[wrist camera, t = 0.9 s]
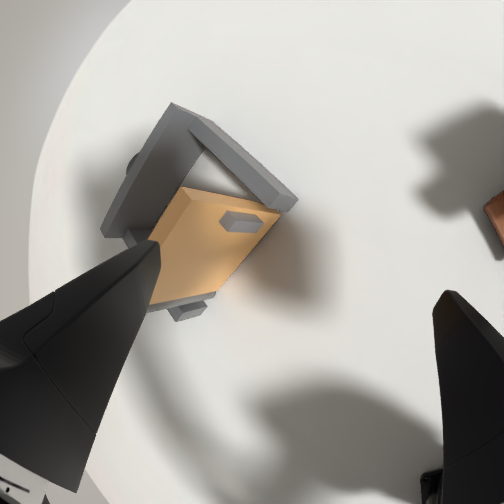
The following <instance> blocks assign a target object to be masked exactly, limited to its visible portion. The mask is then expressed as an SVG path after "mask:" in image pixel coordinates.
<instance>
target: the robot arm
mask: <svg viewBox="0 0 504 504" xmlns="http://www.w3.org/2000/svg"><path fill="white" fill-rule="evenodd" d="M160 270H161V253H160V244H159V242H158V241H153V240H144V241H142V242H140V243H138V244H136V245H134V246H132V247H130V248H129V249H127V250H125V251H123V252H121V253H119V254H118V255H116V256H114V257H112V258H110V259H109V260H107V261H105V262H103V263H101V264H100V265H98V266H96V267H94V268H93V269H91V270H89V271H87V272H86V273H84V274H82V275H80V276H79V277H77V278H75V279H73V280H72V281H70V282H68V283H67V284H65V285H63V286H62V287H60V288H58V289H56V290H55V292H54V291H53V292H51V293H50V294H48V295H46V296H45V297H43V298H41V299H40V300H38V301H36V302H35V303H33V304H31V305H30V306H28V307H26V308H24V309H23V310H20V311H19V312H17V313H15V314H13V315H11V316H9V317H7V318H6V319H3V320H1V321H0V504H50V503H49V501H48V499H47V497H46V494H45V492H46V489H47V487H48V484H49V481H50V482H52V483H54V484H56V485H59V486H61V487H63V488H65V489H68V490H70V491H72V492H74V493H77V490H78V488H79V484H80V481H81V478H82V475H83V472H84V469H85V466H86V463H87V460H88V457H89V454H90V451H91V448H92V445H93V443H94V440H95V437H96V434H95V433H97V431H98V428H99V426H100V423H101V420H102V418H103V415H104V412H105V410H106V407H107V405H108V402H109V399H110V397H111V394H112V392H113V389H114V387H115V384H116V382H117V380H118V377H119V375H120V372H121V370H122V367H123V365H124V363H125V360H126V358H127V356H128V353H129V351H130V349H131V346H132V344H133V342H134V340H135V337H136V335H137V333H138V331H139V328H140V326H141V324H142V322H143V320H144V317H145V315H146V312H147V309H148V307H149V303H150V300H151V297H152V294H153V291H154V288H155V285H156V282H157V279H158V277H159V274H160ZM432 316H433V327H434V339H435V354H436V362H437V369H438V377H439V386H440V396H441V408H442V423H443V467H444V469H441V470H437V471H433V472H428V473H425V474H423V475H422V476H421V480H420V483H421V494H422V504H504V337H503V336H502V335H501V334H500V333H499V332H498V331H497V330H496V329H495V328H494V327H493V326H492V325H491V324H490V323H489V322H488V321H487V320H486V319H485V318H484V317H483V316H482V315H481V314H480V313H479V312H478V311H477V310H476V309H475V308H474V307H472V306H471V305H470V304H469V303H468V302H467V301H466V300H465V299H464V298H463V297H462V296H461V295H460V294H459V293H457V292H456V291H452V290H445V291H444V292H443V293H442V295H441V297H440V298H439V300H438V302H437V303H436V305H435V306H434V308H433V313H432ZM425 478H428V479H425Z"/></svg>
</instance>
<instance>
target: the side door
mask: <svg viewBox="0 0 504 504" xmlns="http://www.w3.org/2000/svg"><path fill="white" fill-rule="evenodd" d="M280 216H281V214H280V213H279V212H278V211H277V210H276V209H271V208H267V207H266V206H265V205H264V204H263V203H259V202H254V201H249V200H245V199H240V198H235V197H231V196H226V195H221V194H216V193H211V192H206V191H201V190H196V189H191V188H186V187H180V189H179V190H178V192H177V193H176V195H175V196H174V198H173V199H172V201H171V202H170V204H169V206H168V207H167V209H166V210H165V212H164V214H163V215H162V217H161V218H160V220H159V222H158V223H157V225H156V226H155V228H154V230H153V231H152V233H151V235H150V236H149V238H148V240H153V241H158V242H159V244H160V253H161V270H160V274H159V277H158V279H157V282H156V285H155V288H154V291H153V294H152V297H151V300H150V303H149V307H148V309H147V312H146V313H149V312H154V311H158V310H163V309H167V308H171V307H176V306H180V305H185V304H189V303H193V302H197V301H202V300H206V299H210V298H213V297H214V296H215V294H216V291H218V290H219V288H220V287H221V286H222V285H223V284H224V283H225V281H226V280H227V279H228V278H229V277H230V275H231V274H232V273H233V272H234V271H235V269H236V268H237V267H238V266H239V265H240V264H241V262H242V261H243V260H244V259H245V258H246V256H247V255H248V254H249V253H250V252H251V250H252V249H253V248H254V247H255V246H256V245H257V243H258V242H259V241H260V240H261V239H262V237H263V236H264V235H265V234H266V233H267V231H268V230H269V229H270V228H271V227H272V226H273V224H274V223H275V222H276V221H277V220H278V218H279V217H280Z"/></svg>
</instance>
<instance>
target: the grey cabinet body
mask: <svg viewBox="0 0 504 504" xmlns="http://www.w3.org/2000/svg"><path fill="white" fill-rule="evenodd" d="M205 147H207V148H208V149H209V150H210V151H211V152H212V153H213V154H214V155H215V156H216V157H217V158H218V159H219V160H220V161H221V162H222V163H223V164H224V165H225V166H226V167H227V168H229V169H230V170H231V171H232V172H233V173H234V174H235V175H236V176H237V177H238V178H239V179H240V180H241V181H242V182H243V183H244V184H245V185H246V186H247V187H248V188H249V189H250V190H251V191H252V192H253V193H254V194H255V195H256V196H257V197H258V198H259V199H260V200H261V201H262V202H263V203H264V205H265V206H266V207H267V208H271V209H276V210H281V211H285V212H288V211H289V210H290V209H291V208H292V206H293V205H294V204H295V203H296V202H297V201H298V198H297V197H296V196H295V195H294V194H293V193H292V192H291V191H290V190H289V189H287V188H286V187H285V186H284V185H283V184H282V183H281V182H280V181H279V180H278V179H277V178H276V177H275V176H274V175H272V174H271V173H270V172H269V171H268V170H267V169H266V168H265V167H264V166H263V165H262V164H260V163H259V162H258V161H257V160H256V159H255V158H254V157H253V156H252V155H251V154H249V153H248V152H247V151H246V150H245V149H244V148H243V147H241V146H240V145H239V144H238V143H237V142H236V141H235V140H234V139H232V138H231V137H230V136H229V135H228V134H227V133H225V132H224V131H223V130H222V129H221V128H220V127H218V126H217V125H216V124H215V123H214V122H213V121H211V120H209V119H207V118H205V117H202V116H200V115H198V114H196V113H194V112H192V111H189V110H187V109H185V108H183V107H181V106H178V105H176V104H174V103H172V102H171V103H170V105H169V106H168V108H167V109H166V111H165V112H164V114H163V115H162V117H161V119H160V120H159V122H158V123H157V125H156V126H155V128H154V130H153V131H152V133H151V134H150V136H149V138H148V139H147V141H146V143H145V144H144V146H143V148H142V149H141V151H140V152H139V153H138V154H136V155H135V156H134V157H133V158H132V160H131V161H130V162H129V164H128V167H127V171H126V175H127V176H126V178H125V180H124V182H123V183H122V185H121V187H120V189H119V191H118V193H117V195H116V197H115V199H114V201H113V203H112V205H111V207H110V209H109V211H108V213H107V215H106V217H105V219H104V221H103V224H102V226H101V228H100V230H101V231H102V233H103V235H104V237H105V238H123V240H124V241H125V243H126V245H127V247H128V248H130V247H132V246H134V245H136V244H138V243H140V242H142V241H144V240H148V238H149V236H150V235H151V233H152V231H153V230H152V228H153V226H154V225H155V223H156V221H157V220H158V218H159V217H160V215H161V213H162V212H163V210H164V209H165V207H166V205H167V204H168V202H169V201H170V199H171V198H172V196H173V194H174V193H175V191H176V190H177V188H178V187H179V185H180V184H181V182H182V181H183V179H184V178H185V176H186V175H187V173H188V172H189V170H190V169H191V167H192V166H193V164H194V163H195V161H196V160H197V158H198V157H199V156H200V154H201V153H202V151H203V150H204V148H205ZM206 308H207V305H206V304H205V303H204V301H203V300H202V301H197V302H193V303H189V304H185V305H180V306H176V307H171V308H167V310H168V312H169V313H170V314H171V316H172V317H173V319H174V320H175V322H178V321H182V320H185V319H189V318H192V317H196V316H199V315H201V314H202V312H203V311H204V310H205V309H206Z"/></svg>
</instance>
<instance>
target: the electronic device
mask: <svg viewBox="0 0 504 504" xmlns="http://www.w3.org/2000/svg"><path fill="white" fill-rule="evenodd" d="M483 210H484V212H485V213H487V215H488V217H489V219H490V220H491V222H492V224H493V226H494V228H495V230H496V232H497V234H498V236H499V238H500V240H501V242H502V244H503V246H504V190H503V191H502V192H501V193H500V194H498V195H497V196H495V197H493V198H492V199H491V200H490V201H489V202H488V203H486V204H485V205H484V206H483Z"/></svg>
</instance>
